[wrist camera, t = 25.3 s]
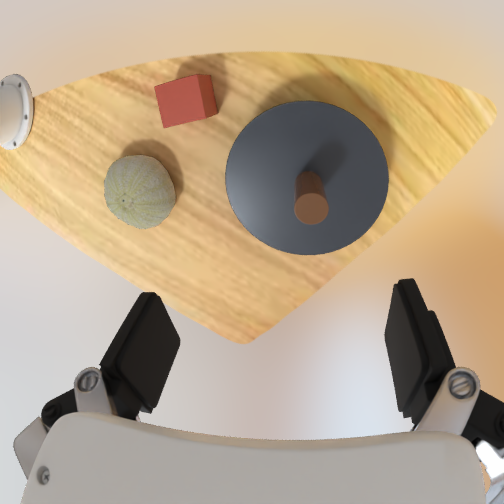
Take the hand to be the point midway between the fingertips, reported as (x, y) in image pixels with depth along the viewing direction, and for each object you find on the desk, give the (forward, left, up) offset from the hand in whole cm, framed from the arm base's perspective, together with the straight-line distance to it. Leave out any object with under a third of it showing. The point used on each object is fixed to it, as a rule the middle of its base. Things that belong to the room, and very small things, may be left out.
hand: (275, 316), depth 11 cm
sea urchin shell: (-15, -9, -22) cm, 29 cm away
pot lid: (+2, 0, -18) cm, 18 cm away
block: (-12, +3, -22) cm, 25 cm away
